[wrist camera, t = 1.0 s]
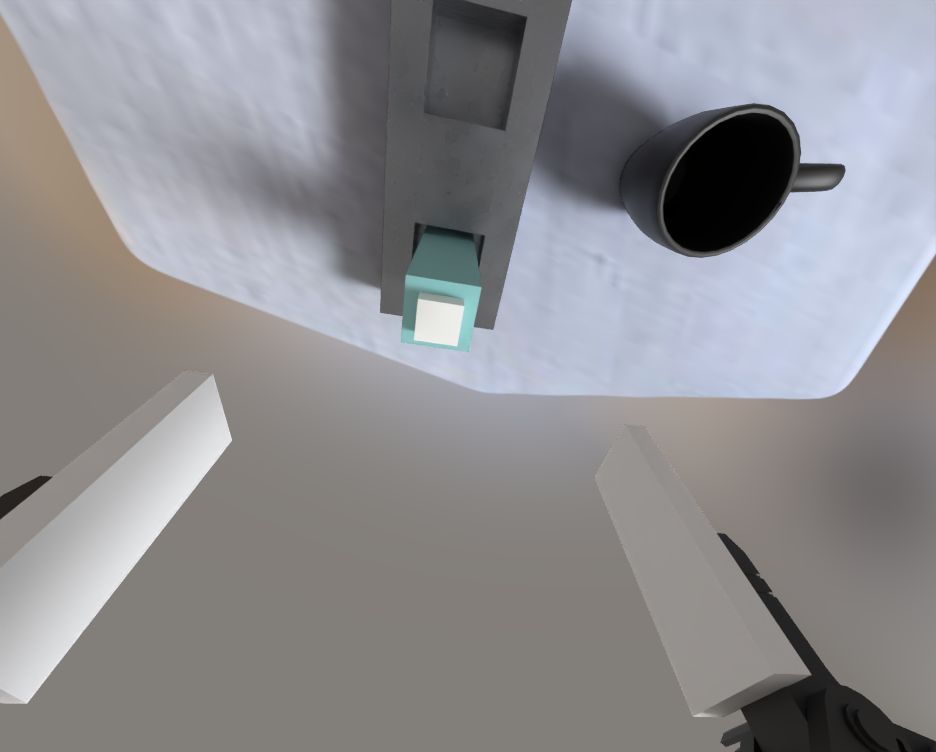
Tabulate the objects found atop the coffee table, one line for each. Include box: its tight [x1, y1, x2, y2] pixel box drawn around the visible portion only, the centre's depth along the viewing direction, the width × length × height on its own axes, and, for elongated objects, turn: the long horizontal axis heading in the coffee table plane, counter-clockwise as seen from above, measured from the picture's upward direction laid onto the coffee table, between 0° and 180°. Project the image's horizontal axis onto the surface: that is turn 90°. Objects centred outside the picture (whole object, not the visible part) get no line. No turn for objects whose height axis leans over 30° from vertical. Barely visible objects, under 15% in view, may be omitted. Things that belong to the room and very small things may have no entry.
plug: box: [401, 225, 482, 352], centre depth 24 cm, size 4×4×15 cm
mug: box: [619, 103, 846, 258], centre depth 25 cm, size 8×12×10 cm
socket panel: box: [380, 0, 572, 330], centre depth 26 cm, size 22×10×5 cm, turn 170°
